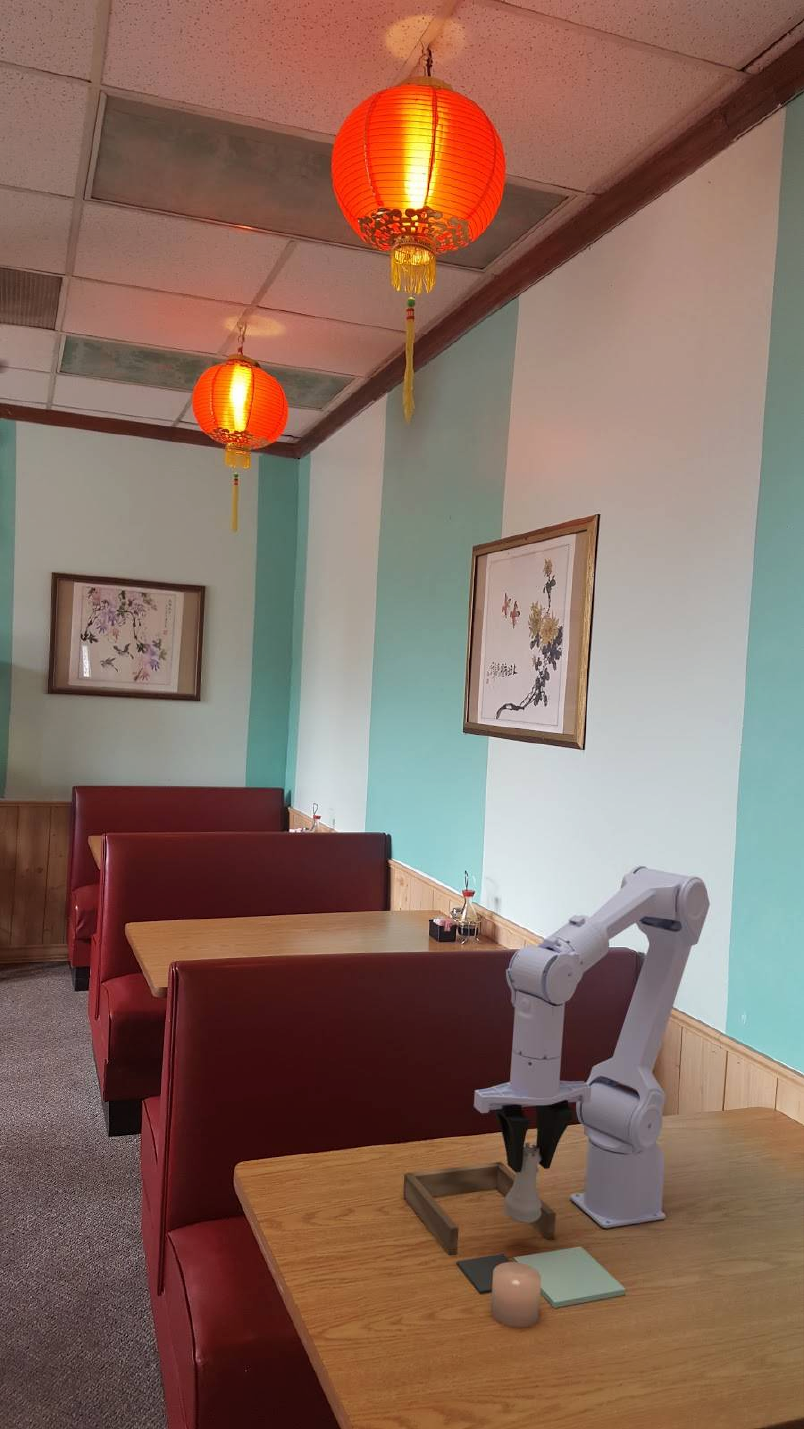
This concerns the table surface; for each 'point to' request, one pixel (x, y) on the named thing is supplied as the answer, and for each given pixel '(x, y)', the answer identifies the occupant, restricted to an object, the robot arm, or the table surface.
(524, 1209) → the rook chess piece
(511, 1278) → the peach short cylinder
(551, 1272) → the coaster
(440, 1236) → the cubby
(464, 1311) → the table surface
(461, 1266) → the dark gray tile
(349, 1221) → the table surface
